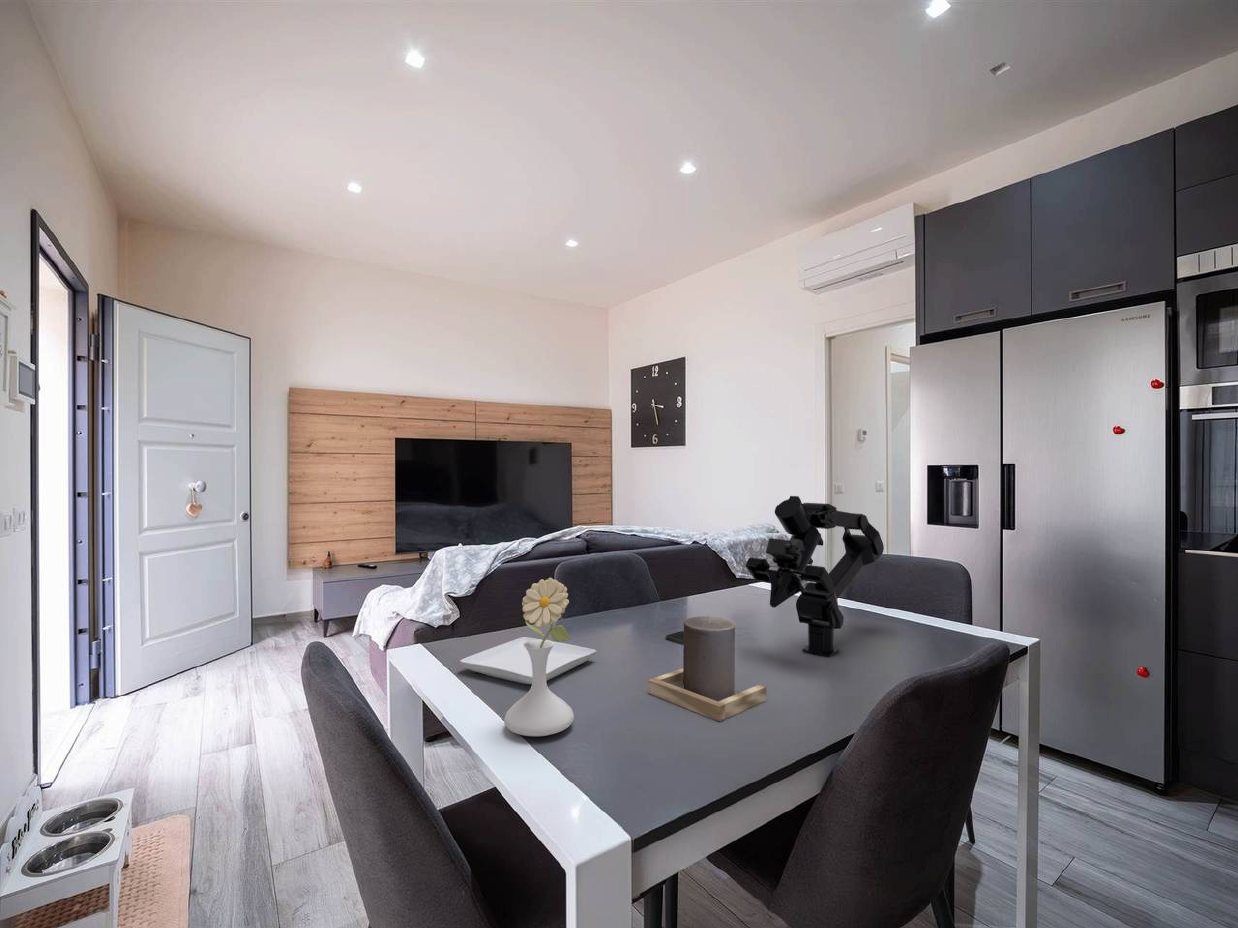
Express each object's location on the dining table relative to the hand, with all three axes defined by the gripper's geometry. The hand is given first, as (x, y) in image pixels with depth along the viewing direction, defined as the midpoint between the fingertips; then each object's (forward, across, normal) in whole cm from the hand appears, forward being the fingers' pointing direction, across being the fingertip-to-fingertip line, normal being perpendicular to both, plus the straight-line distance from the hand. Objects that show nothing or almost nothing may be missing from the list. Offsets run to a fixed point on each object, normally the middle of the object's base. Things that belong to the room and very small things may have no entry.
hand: (772, 606), depth 125 cm
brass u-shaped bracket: (+24, 0, -5) cm, 25 cm away
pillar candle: (+24, 0, -5) cm, 25 cm away
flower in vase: (+46, -9, -27) cm, 54 cm away
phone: (+8, -24, +13) cm, 28 cm away
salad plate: (+36, -36, -16) cm, 53 cm away
